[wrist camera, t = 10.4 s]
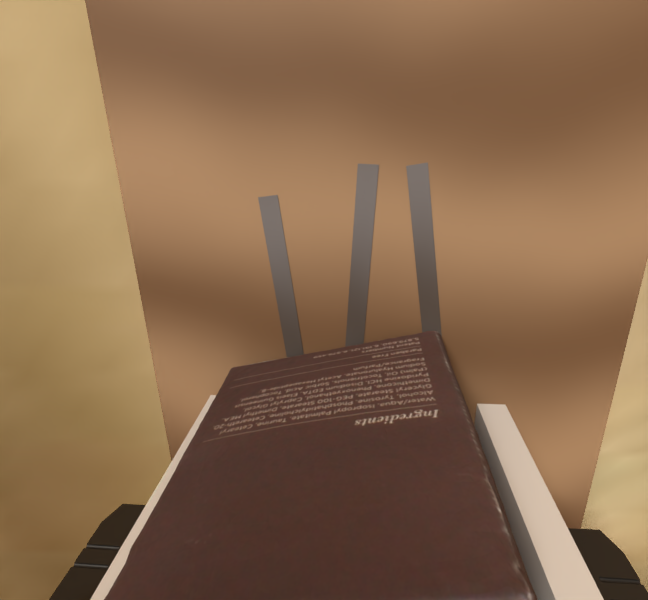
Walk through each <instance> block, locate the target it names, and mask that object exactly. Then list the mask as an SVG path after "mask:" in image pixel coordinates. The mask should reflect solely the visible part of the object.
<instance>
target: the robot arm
mask: <svg viewBox="0 0 648 600" xmlns="http://www.w3.org/2000/svg"><path fill="white" fill-rule="evenodd" d="M215 397H216V395H210V397H209V399H208V401H207V402H206V404H205V406H204V407H203V409H202V411H201V412H200V414H199V416H198V418H197V419H196V421H195V423H194V424H193V426H192V428H191V429H190V431H189V433H188V434H187V436H186V438H185V440H184V441H183V443H182V445H181V446H180V448H179V450H178V451H177V453H176V455H175V457H174V458H173V460H172V462H171V463H170V465H169V467H168V468H167V470H166V472H165V473H164V475H163V477H162V479H161V480H160V482H159V484H158V485H157V487H156V489H155V490H154V492H153V494H152V496H151V497H150V499H149V501H148V502H147V504H146V505H132V504H122V505H121V506H120V507H119V508H118V509H116V510H115V511H114V512H113V513H112V514H111V515H109V516H108V517H107V518H106V519H105V520H104V521H102V522H101V524H100V525H99V527H98V528H97V530H96V531H95V533H94V534H93V536H92V537H91V539H90V540H89V542H88V543H87V547H86V548H84V549H83V551H82V552H81V554H80V555H79V556H78V558H77V559H76V561H75V564H74V567H71V568H70V570H69V571H68V573H67V574H66V576H65V577H64V579H63V580H62V582H61V583H60V585H59V586H58V588H57V589H56V590H55V592H54V593H53V595H52V596H51V598H50V599H49V600H104V599H105V597H106V596H107V594H108V593H109V591H110V589H111V587H112V586H113V584H114V582H115V580H116V579H117V577H118V575H119V573H120V572H121V570H122V568H123V567H124V565H125V563H126V560H127V557H128V555H129V552H130V549H131V547H132V545H133V543H134V542H135V540H136V539H137V537H138V535H139V534H140V532H141V530H142V529H143V527H144V525H145V523H146V522H147V520H148V518H149V516H150V514H151V513H152V511H153V509H154V507H155V506H156V504H157V502H158V500H159V498H160V496H161V495H162V493H163V491H164V489H165V488H166V486H167V484H168V482H169V481H170V479H171V477H172V475H173V473H174V472H175V470H176V468H177V465H178V463H179V461H180V460H181V458H182V456H183V454H184V452H185V451H186V449H187V447H188V445H189V443H190V442H191V440H192V438H193V437H194V435H195V433H196V431H197V429H198V427H199V425H200V423H201V422H202V420H203V418H204V416H205V415H206V413H207V411H208V409H209V407H210V405H211V404H212V402H213V400H214V399H215ZM474 426H475V429H476V431H477V434H478V436H479V439H480V443H481V446H482V448H483V451H484V454H485V456H486V459H487V461H488V464H489V467H490V470H491V473H492V476H493V478H494V481H495V484H496V487H497V490H498V493H499V496H500V499H501V501H502V503H503V505H504V509H505V512H506V515H507V518H508V521H509V524H510V527H511V530H512V533H513V536H514V539H515V541H516V544H517V547H518V550H519V552H520V555H521V558H522V561H523V563H524V566H525V569H526V572H527V575H528V577H529V580H530V582H531V585H532V587H533V590H534V592H535V594H536V596H537V599H538V600H648V592H647V591H646V589H645V587H644V586H643V585H641V584H640V579H639V577H638V576H637V574H636V572H635V571H634V569H633V567H632V566H631V564H630V562H629V561H628V559H627V558H626V556H625V554H624V553H623V552H622V551H621V550H620V549H619V548H618V547H617V546H616V545H615V544H614V543H613V542H612V541H611V540H610V539H609V538H608V537H607V536H605V535H604V534H603V533H602V532H601V531H600V530H592V529H574V528H567V526H566V524H565V522H564V520H563V518H562V516H561V514H560V512H559V510H558V508H557V506H556V504H555V502H554V500H553V498H552V496H551V494H550V492H549V490H548V488H547V486H546V484H545V482H544V480H543V478H542V476H541V474H540V472H539V470H538V468H537V466H536V464H535V462H534V460H533V458H532V456H531V454H530V452H529V450H528V448H527V446H526V444H525V442H524V440H523V438H522V436H521V434H520V432H519V430H518V428H517V426H516V424H515V422H514V420H513V418H512V416H511V415H510V413H509V411H508V409H507V407H506V405H505V404H477V407H476V416H475V424H474Z"/></svg>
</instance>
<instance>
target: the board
mask: <svg viewBox="0 0 648 600" xmlns="http://www.w3.org/2000/svg"><path fill="white" fill-rule="evenodd" d="M85 2H86V7H87V13H88V18H89V23H90V29H91V34H92V39H93V45H94V50H95V55H96V61H97V66H98V71H99V77H100V82H101V87H102V93H103V98H104V103H105V108H106V114H107V119H108V124H109V130H110V135H111V140H112V146H113V151H114V156H115V162H116V167H117V172H118V178H119V183H120V188H121V194H122V199H123V204H124V210H125V215H126V220H127V226H128V231H129V236H130V242H131V247H132V252H133V258H134V263H135V268H136V273H137V279H138V284H139V289H140V295H141V300H142V305H143V311H144V316H145V321H146V327H147V332H148V337H149V343H150V348H151V353H152V359H153V364H154V369H155V375H156V380H157V385H158V391H159V396H160V401H161V407H162V412H163V417H164V422H165V428H166V433H167V438H168V444H169V449H170V454H171V460H173V458H174V457H175V455H176V453H177V451H178V450H179V448H180V446H181V445H182V443H183V441H184V440H185V438H186V436H187V434H188V433H189V431H190V429H191V428H192V426H193V424H194V423H195V421H196V419H197V418H198V416H199V414H200V412H201V411H202V409H203V407H204V406H205V404H206V402H207V401H208V399H209V397H210V395H217V394H218V392H219V389H220V388H221V386H222V384H223V383H224V381H225V378H226V377H227V375H228V373H229V371H230V369H231V368H233V367H238V366H244V365H249V364H254V363H260V362H264V361H270V360H276V359H282V358H287V357H293V356H299V355H304V354H309V353H314V352H320V351H326V350H331V349H336V348H341V347H346V346H352V345H359V344H363V343H368V342H373V341H380V340H384V339H389V338H396V337H401V336H406V335H412V334H417V333H422V332H426V331H437V332H438V333H439V334H440V335H441V337H442V339H443V342H444V345H445V348H446V351H447V354H448V357H449V359H450V362H451V365H452V368H453V370H454V373H455V375H456V378H457V381H458V383H459V386H460V389H461V391H462V393H463V396H464V399H465V401H466V404H467V406H468V408H469V411H470V414H471V417H472V420H473V423H474V424H475V416H476V407H477V404H505V405H506V407H507V409H508V411H509V413H510V415H511V416H512V418H513V420H514V422H515V424H516V426H517V428H518V430H519V432H520V434H521V436H522V438H523V440H524V442H525V444H526V446H527V448H528V450H529V452H530V454H531V456H532V458H533V460H534V462H535V464H536V466H537V468H538V470H539V472H540V474H541V476H542V478H543V480H544V482H545V484H546V486H547V488H548V490H549V492H550V494H551V496H552V498H553V500H554V502H555V504H556V506H557V508H558V510H559V512H560V514H561V516H562V518H563V520H564V522H565V524H566V526H567V528H574V529H580V528H581V524H582V520H583V516H584V512H585V508H586V504H587V500H588V496H589V492H590V488H591V484H592V480H593V476H594V472H595V468H596V464H597V460H598V456H599V451H600V447H601V443H602V439H603V435H604V431H605V427H606V423H607V419H608V415H609V411H610V407H611V403H612V399H613V395H614V391H615V387H616V383H617V379H618V375H619V371H620V367H621V363H622V359H623V355H624V351H625V347H626V343H627V339H628V335H629V331H630V327H631V323H632V319H633V315H634V311H635V307H636V302H637V298H638V294H639V290H640V286H641V282H642V278H643V274H644V270H645V266H646V262H647V258H648V0H85Z"/></svg>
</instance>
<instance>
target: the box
mask: <svg viewBox="0 0 648 600" xmlns="http://www.w3.org/2000/svg"><path fill="white" fill-rule="evenodd" d="M104 600H538V599H537V596H536V594H535V592H534V590H533V587H532V585H531V582H530V580H529V577H528V575H527V572H526V569H525V566H524V563H523V561H522V558H521V555H520V552H519V550H518V547H517V544H516V541H515V539H514V536H513V533H512V530H511V527H510V524H509V521H508V518H507V515H506V512H505V509H504V505H503V503H502V501H501V499H500V496H499V493H498V490H497V487H496V484H495V481H494V478H493V476H492V473H491V470H490V467H489V464H488V461H487V459H486V456H485V454H484V451H483V448H482V446H481V443H480V439H479V436H478V434H477V431H476V429H475V426H474V423H473V420H472V417H471V414H470V411H469V408H468V406H467V404H466V401H465V399H464V396H463V393H462V391H461V389H460V386H459V383H458V381H457V378H456V375H455V373H454V370H453V368H452V365H451V362H450V359H449V357H448V354H447V351H446V348H445V345H444V342H443V339H442V337H441V335H440V334H439V333H438V332H437V331H426V332H422V333H417V334H412V335H406V336H401V337H396V338H389V339H384V340H380V341H373V342H368V343H363V344H359V345H352V346H346V347H341V348H336V349H331V350H326V351H320V352H314V353H309V354H304V355H299V356H293V357H287V358H282V359H276V360H270V361H264V362H260V363H254V364H249V365H244V366H238V367H233V368H231V369H230V371H229V373H228V375H227V377H226V378H225V381H224V383H223V384H222V386H221V388H220V389H219V392H218V394H217V395H216V397H215V399H214V400H213V402H212V404H211V405H210V407H209V409H208V411H207V413H206V415H205V416H204V418H203V420H202V422H201V423H200V425H199V427H198V429H197V431H196V433H195V435H194V437H193V438H192V440H191V442H190V443H189V445H188V447H187V449H186V451H185V452H184V454H183V456H182V458H181V460H180V461H179V463H178V465H177V468H176V470H175V472H174V473H173V475H172V477H171V479H170V481H169V482H168V484H167V486H166V488H165V489H164V491H163V493H162V495H161V496H160V498H159V500H158V502H157V504H156V506H155V507H154V509H153V511H152V513H151V514H150V516H149V518H148V520H147V522H146V523H145V525H144V527H143V529H142V530H141V532H140V534H139V535H138V537H137V539H136V540H135V542H134V543H133V545H132V547H131V549H130V552H129V555H128V557H127V560H126V563H125V565H124V567H123V568H122V570H121V572H120V573H119V575H118V577H117V579H116V580H115V582H114V584H113V586H112V587H111V589H110V591H109V593H108V594H107V596H106V597H105V599H104Z"/></svg>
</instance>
